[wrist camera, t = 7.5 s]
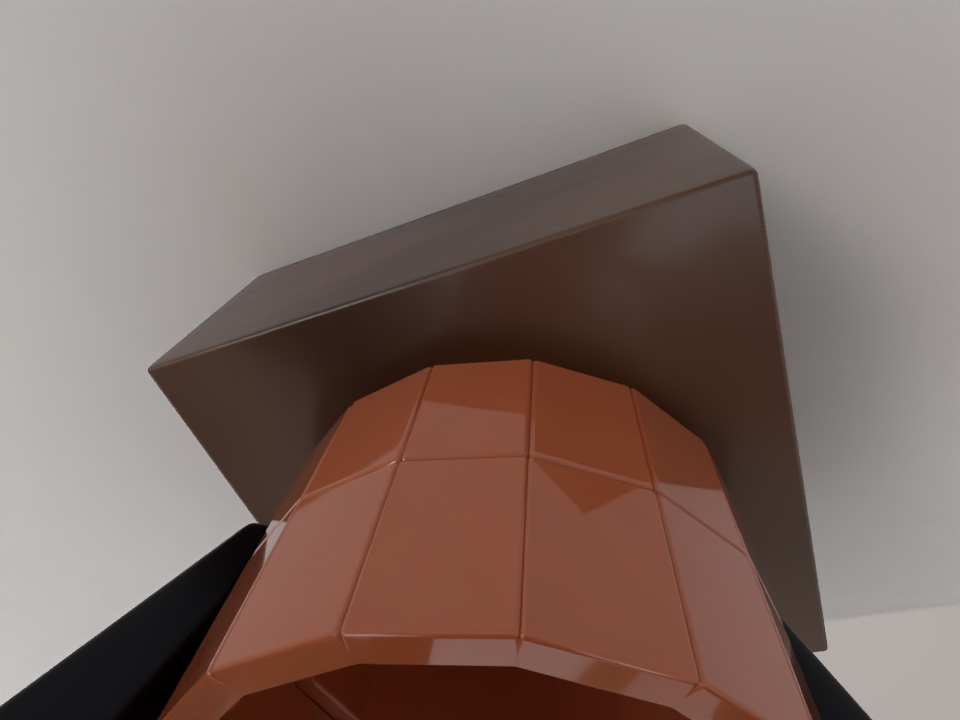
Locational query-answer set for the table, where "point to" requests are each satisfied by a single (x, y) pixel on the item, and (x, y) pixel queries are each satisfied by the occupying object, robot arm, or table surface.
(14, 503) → the table surface
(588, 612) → the small bowl
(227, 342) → the walnut block
